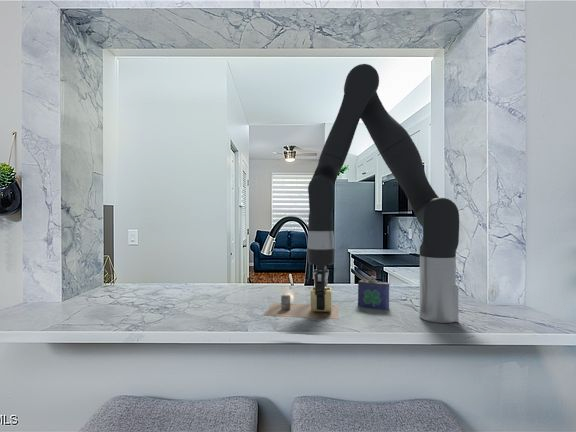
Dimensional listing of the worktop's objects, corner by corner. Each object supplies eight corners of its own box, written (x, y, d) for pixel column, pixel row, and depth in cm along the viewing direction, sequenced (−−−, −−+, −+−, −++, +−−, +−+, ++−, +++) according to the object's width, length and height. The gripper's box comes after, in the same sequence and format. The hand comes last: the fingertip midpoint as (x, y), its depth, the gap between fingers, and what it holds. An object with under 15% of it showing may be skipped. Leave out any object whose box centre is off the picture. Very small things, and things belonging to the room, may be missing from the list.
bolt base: (338, 310, 105) (338, 292, 105) (338, 324, 91) (338, 303, 91) (273, 307, 108) (273, 290, 108) (263, 321, 94) (263, 300, 94)
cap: (331, 306, 101) (331, 286, 101) (331, 311, 95) (331, 290, 95) (312, 305, 102) (312, 285, 102) (310, 310, 96) (310, 289, 96)
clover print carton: (390, 313, 102) (390, 276, 102) (388, 315, 100) (387, 278, 100) (359, 309, 106) (359, 274, 106) (356, 311, 104) (356, 275, 104)
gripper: (333, 249, 91) (334, 314, 91) (335, 245, 105) (335, 301, 105) (304, 249, 92) (305, 313, 92) (310, 245, 106) (310, 300, 106)
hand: (321, 306), depth 98 cm, fingers closed on cap, 5 cm apart
